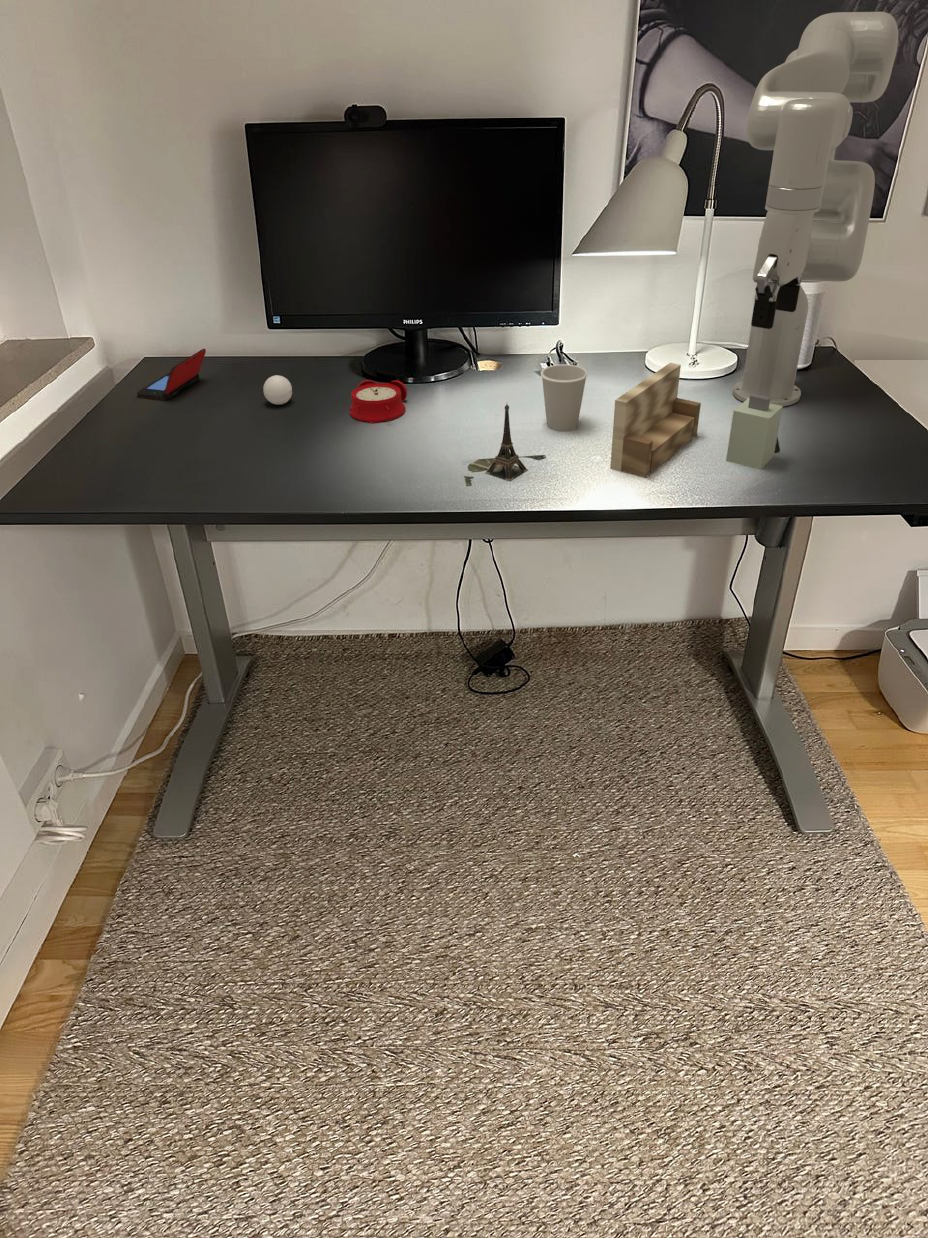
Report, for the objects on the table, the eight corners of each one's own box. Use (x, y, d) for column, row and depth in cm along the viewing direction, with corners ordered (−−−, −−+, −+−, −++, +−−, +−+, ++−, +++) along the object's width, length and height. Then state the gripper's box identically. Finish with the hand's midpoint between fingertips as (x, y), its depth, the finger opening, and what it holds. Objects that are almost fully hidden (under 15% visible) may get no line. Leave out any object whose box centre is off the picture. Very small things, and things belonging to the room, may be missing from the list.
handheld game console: (170, 376, 194) (163, 342, 190) (214, 381, 191) (207, 346, 187) (135, 398, 184) (126, 362, 180) (180, 404, 181) (172, 367, 177)
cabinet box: (739, 448, 157) (749, 387, 151) (773, 456, 154) (785, 394, 148) (725, 460, 153) (735, 398, 147) (760, 469, 150) (771, 406, 144)
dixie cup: (532, 429, 166) (533, 376, 160) (550, 412, 172) (551, 361, 166) (574, 437, 162) (577, 383, 157) (591, 420, 168) (594, 367, 163)
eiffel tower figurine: (546, 457, 157) (548, 383, 150) (556, 484, 149) (559, 407, 141) (460, 462, 157) (458, 388, 149) (466, 490, 148) (464, 412, 141)
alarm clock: (341, 406, 168) (356, 360, 178) (346, 435, 173) (360, 388, 183) (397, 407, 167) (409, 361, 177) (401, 436, 172) (412, 389, 182)
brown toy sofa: (663, 426, 165) (670, 362, 158) (696, 434, 162) (705, 369, 155) (610, 468, 152) (615, 399, 145) (645, 477, 149) (652, 408, 142)
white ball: (291, 408, 177) (287, 381, 174) (262, 409, 177) (258, 381, 174) (298, 394, 183) (294, 366, 180) (270, 394, 183) (266, 367, 180)
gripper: (789, 185, 137) (770, 300, 147) (745, 206, 126) (728, 329, 136) (839, 190, 134) (816, 308, 143) (798, 212, 122) (776, 338, 132)
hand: (773, 318), depth 140 cm, fingers open, 9 cm apart
